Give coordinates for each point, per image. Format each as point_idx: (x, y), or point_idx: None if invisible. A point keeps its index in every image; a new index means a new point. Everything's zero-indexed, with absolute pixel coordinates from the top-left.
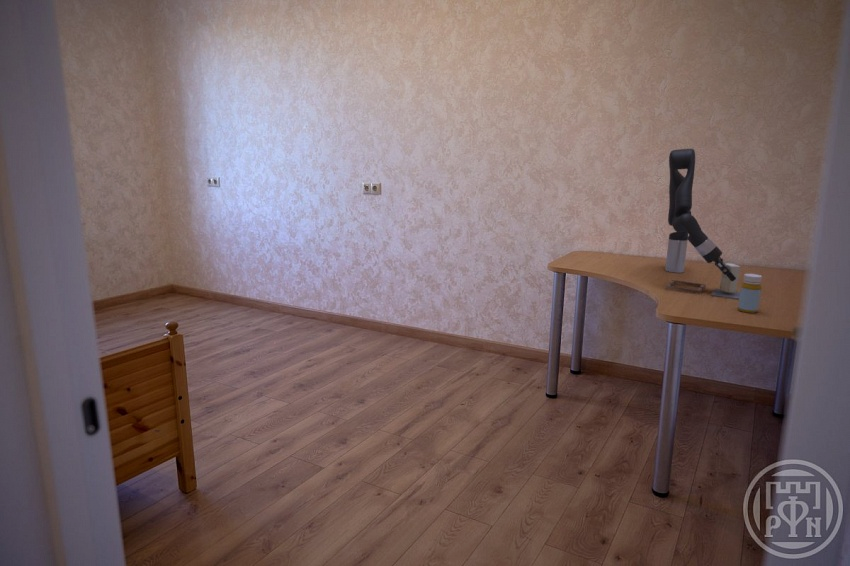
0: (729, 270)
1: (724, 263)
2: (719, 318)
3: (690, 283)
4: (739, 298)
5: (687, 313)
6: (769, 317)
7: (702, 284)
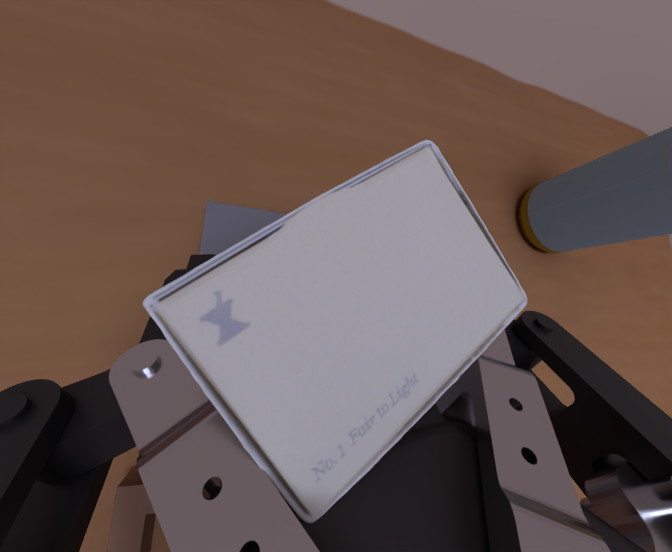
0: (544, 322)
1: (561, 482)
2: (659, 311)
3: None
4: (608, 243)
5: (668, 414)
6: (573, 157)
7: (143, 508)
